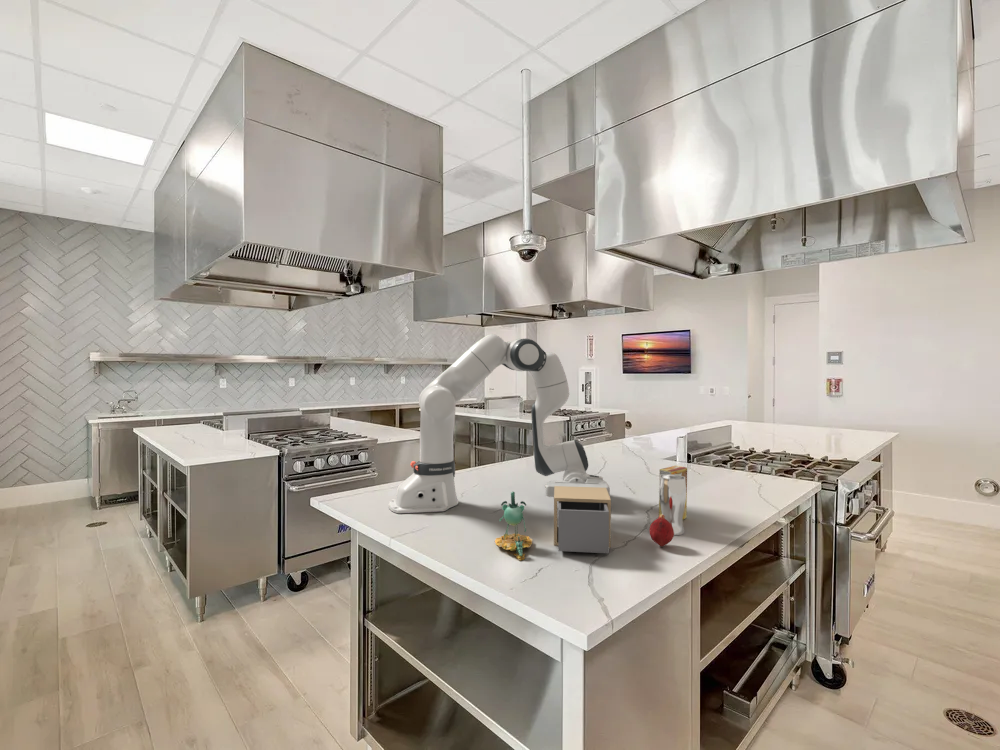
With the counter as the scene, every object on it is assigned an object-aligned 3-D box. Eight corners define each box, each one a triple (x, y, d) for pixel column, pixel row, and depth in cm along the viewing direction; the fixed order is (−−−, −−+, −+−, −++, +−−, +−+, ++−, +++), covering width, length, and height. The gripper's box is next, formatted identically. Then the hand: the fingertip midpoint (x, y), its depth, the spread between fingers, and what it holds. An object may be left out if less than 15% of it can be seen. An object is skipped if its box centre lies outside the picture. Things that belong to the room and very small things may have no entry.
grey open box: (558, 523, 132) (558, 488, 132) (601, 525, 130) (601, 490, 130) (558, 550, 112) (558, 509, 112) (608, 553, 110) (608, 511, 110)
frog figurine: (489, 561, 109) (489, 496, 110) (497, 541, 127) (497, 485, 128) (531, 562, 108) (530, 496, 110) (533, 542, 126) (532, 486, 127)
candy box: (674, 515, 143) (674, 464, 143) (687, 518, 139) (687, 467, 139) (658, 521, 137) (658, 468, 137) (671, 524, 134) (671, 471, 134)
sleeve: (554, 529, 130) (554, 486, 130) (605, 531, 128) (606, 487, 128) (553, 545, 118) (554, 497, 118) (610, 548, 117) (610, 499, 116)
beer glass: (689, 531, 129) (690, 476, 128) (679, 537, 123) (679, 481, 123) (665, 525, 133) (665, 472, 133) (654, 531, 128) (654, 476, 128)
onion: (670, 552, 113) (670, 519, 113) (646, 548, 117) (646, 515, 116) (675, 545, 118) (676, 513, 118) (652, 540, 121) (652, 509, 121)
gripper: (545, 475, 158) (543, 485, 144) (607, 476, 156) (611, 487, 142) (545, 493, 158) (543, 505, 144) (607, 495, 156) (611, 507, 142)
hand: (578, 496), depth 143 cm, fingers closed
